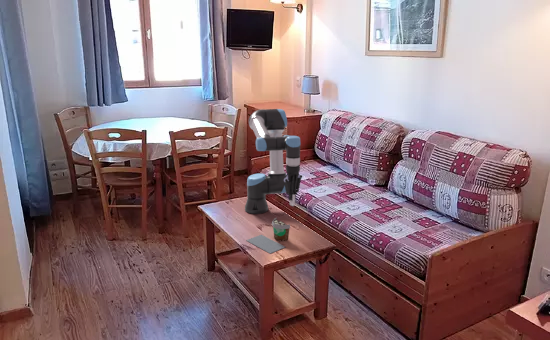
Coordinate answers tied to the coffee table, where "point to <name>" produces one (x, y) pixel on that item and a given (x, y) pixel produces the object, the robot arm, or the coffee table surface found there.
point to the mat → (265, 244)
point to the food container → (280, 230)
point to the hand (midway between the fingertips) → (292, 205)
